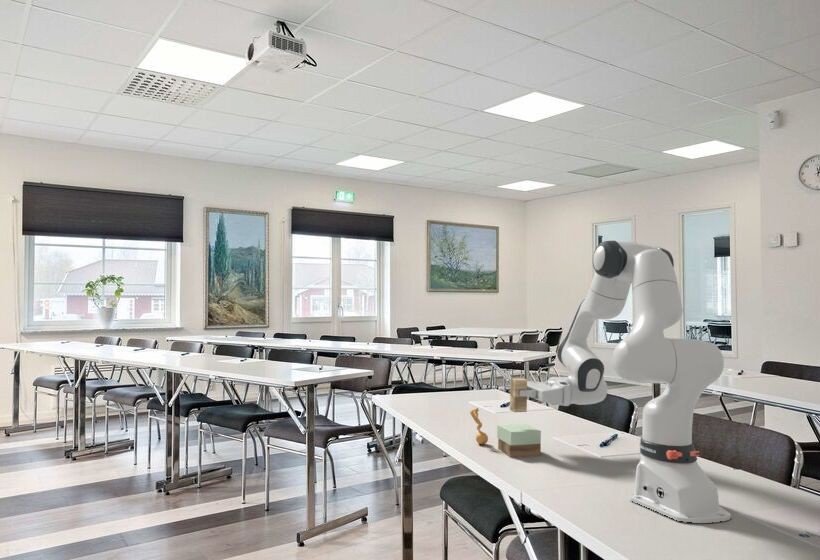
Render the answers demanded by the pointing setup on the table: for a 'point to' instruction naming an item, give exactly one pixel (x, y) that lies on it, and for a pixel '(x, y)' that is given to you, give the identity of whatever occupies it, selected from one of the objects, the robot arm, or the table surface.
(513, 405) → the oak post
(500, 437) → the pale green square slab
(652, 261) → the robot arm
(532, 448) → the tower base
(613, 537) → the table surface
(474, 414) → the figurine
